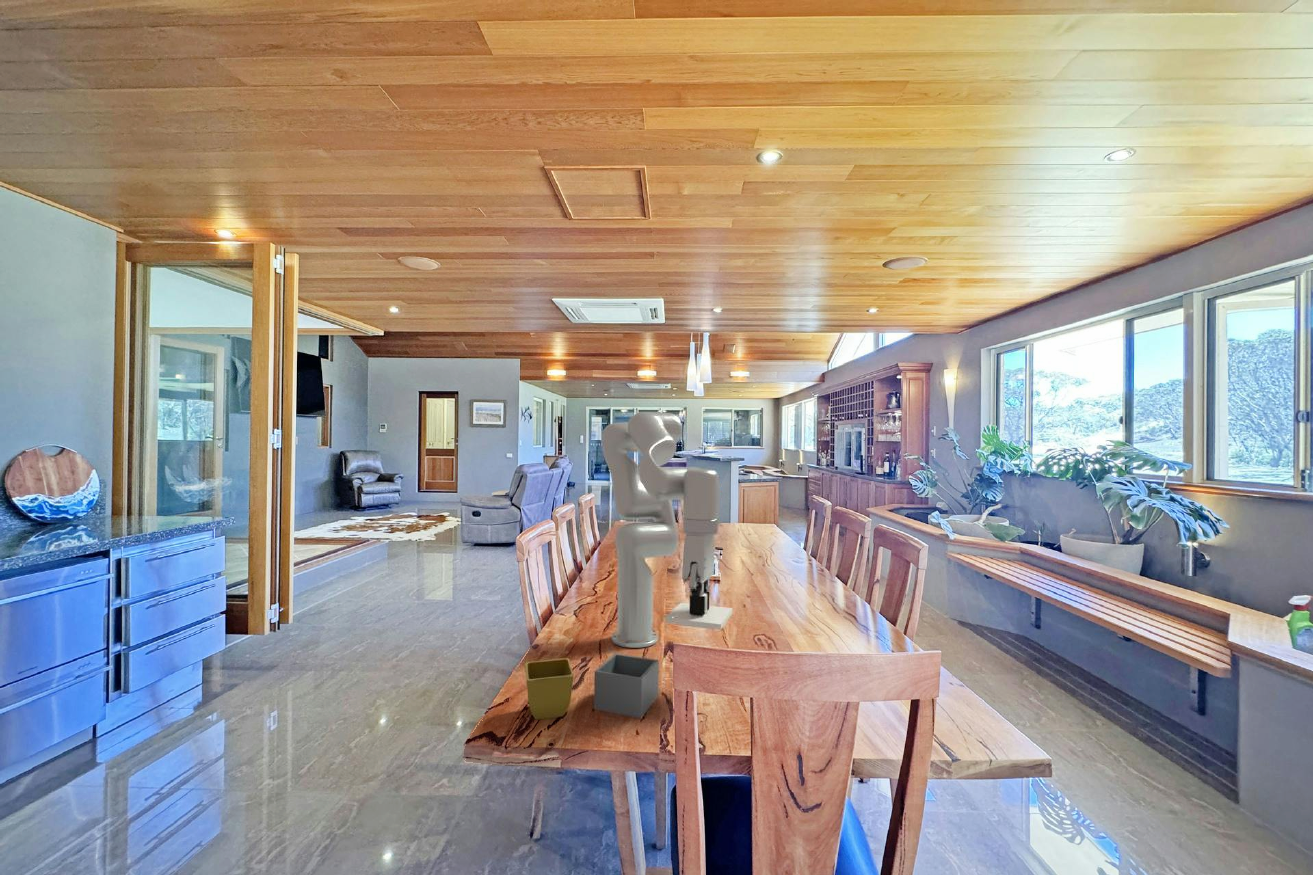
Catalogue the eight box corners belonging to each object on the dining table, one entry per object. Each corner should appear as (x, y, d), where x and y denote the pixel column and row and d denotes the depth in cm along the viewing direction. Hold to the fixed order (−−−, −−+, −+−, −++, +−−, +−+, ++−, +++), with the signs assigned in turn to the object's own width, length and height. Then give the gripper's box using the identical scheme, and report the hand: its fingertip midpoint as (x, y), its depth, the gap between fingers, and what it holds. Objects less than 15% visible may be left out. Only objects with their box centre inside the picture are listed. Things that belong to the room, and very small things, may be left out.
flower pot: (525, 728, 102) (526, 679, 102) (524, 706, 110) (524, 661, 111) (573, 722, 104) (574, 675, 105) (568, 701, 113) (568, 657, 113)
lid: (680, 610, 126) (681, 584, 126) (732, 616, 122) (732, 590, 122) (664, 626, 114) (664, 598, 115) (720, 633, 111) (721, 604, 111)
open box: (614, 690, 118) (614, 653, 118) (658, 698, 115) (658, 660, 115) (593, 711, 109) (594, 671, 109) (641, 720, 105) (641, 679, 105)
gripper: (693, 520, 128) (692, 600, 127) (672, 530, 112) (671, 621, 112) (725, 522, 125) (724, 603, 125) (708, 533, 110) (707, 625, 109)
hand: (699, 611), depth 118 cm, fingers closed on lid, 3 cm apart
